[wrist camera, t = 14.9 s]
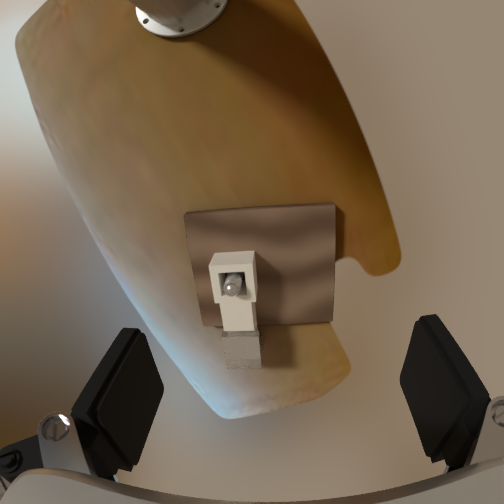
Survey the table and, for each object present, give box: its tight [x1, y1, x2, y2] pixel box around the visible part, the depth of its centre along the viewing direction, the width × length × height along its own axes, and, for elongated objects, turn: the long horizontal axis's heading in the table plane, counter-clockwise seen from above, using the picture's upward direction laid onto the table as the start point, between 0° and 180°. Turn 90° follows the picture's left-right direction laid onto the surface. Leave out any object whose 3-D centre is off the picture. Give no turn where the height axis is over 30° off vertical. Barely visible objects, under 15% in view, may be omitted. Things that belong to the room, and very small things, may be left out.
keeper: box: [222, 330, 263, 369], centre depth 43 cm, size 6×5×6 cm
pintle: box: [223, 272, 244, 297], centre depth 37 cm, size 2×2×6 cm
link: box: [209, 251, 258, 331], centre depth 40 cm, size 13×5×4 cm, turn 5°
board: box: [184, 203, 336, 326], centre depth 41 cm, size 17×19×2 cm
